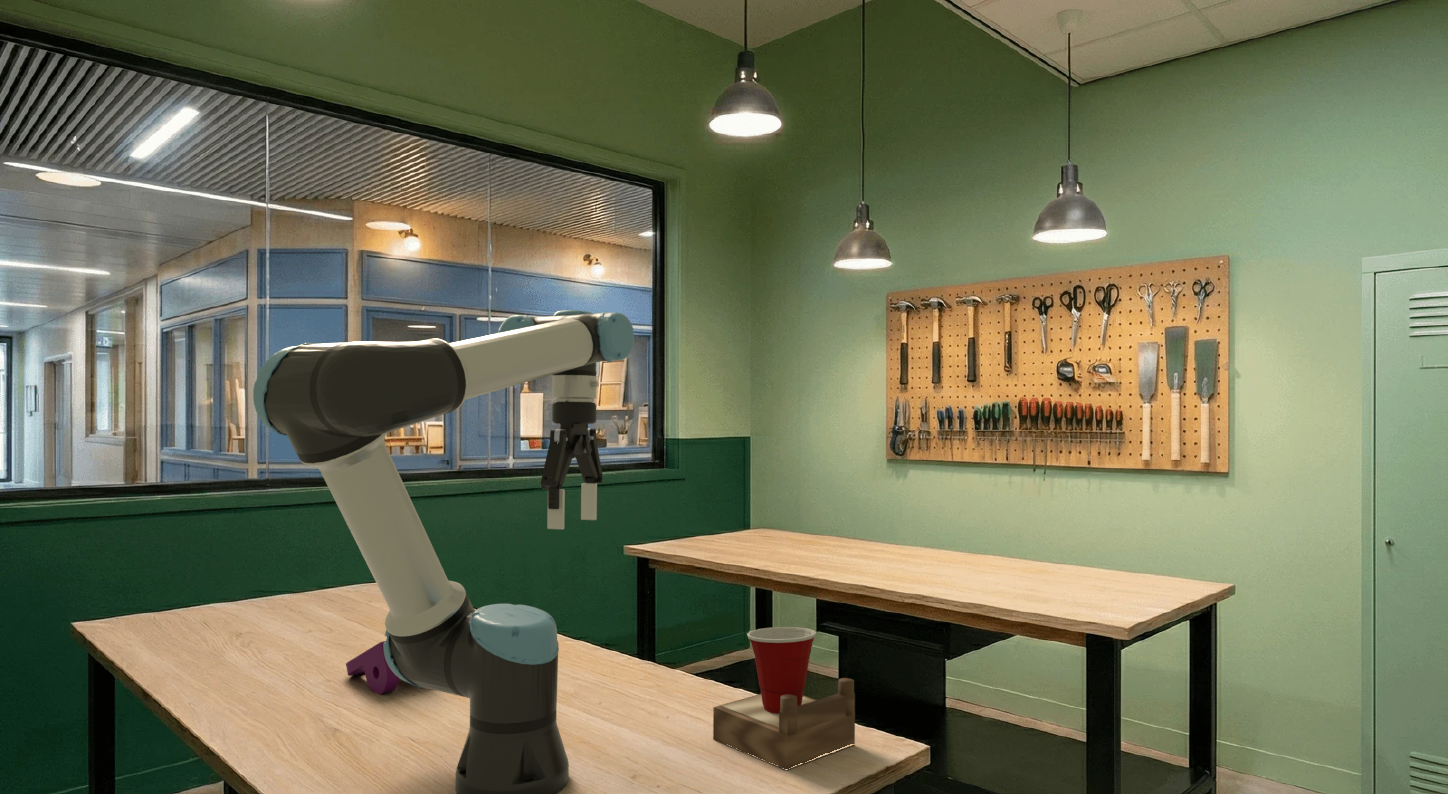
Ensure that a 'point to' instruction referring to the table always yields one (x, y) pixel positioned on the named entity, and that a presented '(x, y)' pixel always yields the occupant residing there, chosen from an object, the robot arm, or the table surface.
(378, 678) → the mounting bracket
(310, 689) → the table surface
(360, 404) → the robot arm
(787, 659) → the plastic cup
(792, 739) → the walnut stand
